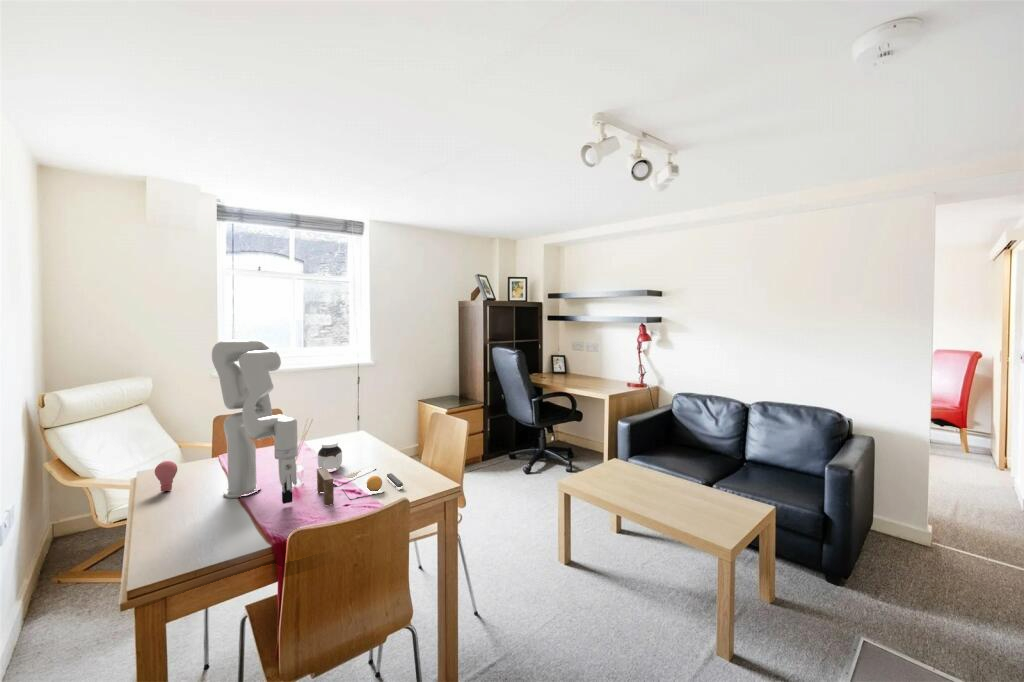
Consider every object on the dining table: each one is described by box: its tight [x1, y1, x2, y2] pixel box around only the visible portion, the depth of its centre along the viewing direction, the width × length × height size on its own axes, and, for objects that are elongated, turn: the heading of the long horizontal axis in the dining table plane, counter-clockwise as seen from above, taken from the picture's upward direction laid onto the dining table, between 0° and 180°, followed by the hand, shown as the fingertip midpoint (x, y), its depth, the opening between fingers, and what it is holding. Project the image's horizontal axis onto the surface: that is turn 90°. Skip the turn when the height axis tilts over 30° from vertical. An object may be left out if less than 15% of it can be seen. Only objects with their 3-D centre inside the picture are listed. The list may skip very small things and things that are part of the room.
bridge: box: [316, 467, 335, 506], centre depth 171 cm, size 3×15×10 cm, turn 33°
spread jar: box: [317, 440, 343, 470], centre depth 204 cm, size 12×11×12 cm
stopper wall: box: [386, 473, 404, 487], centre depth 186 cm, size 14×2×2 cm, turn 33°
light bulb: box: [154, 460, 178, 493], centre depth 177 cm, size 7×7×12 cm
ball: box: [366, 475, 383, 491], centre depth 178 cm, size 6×6×6 cm
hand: (287, 502), depth 164 cm, fingers closed
